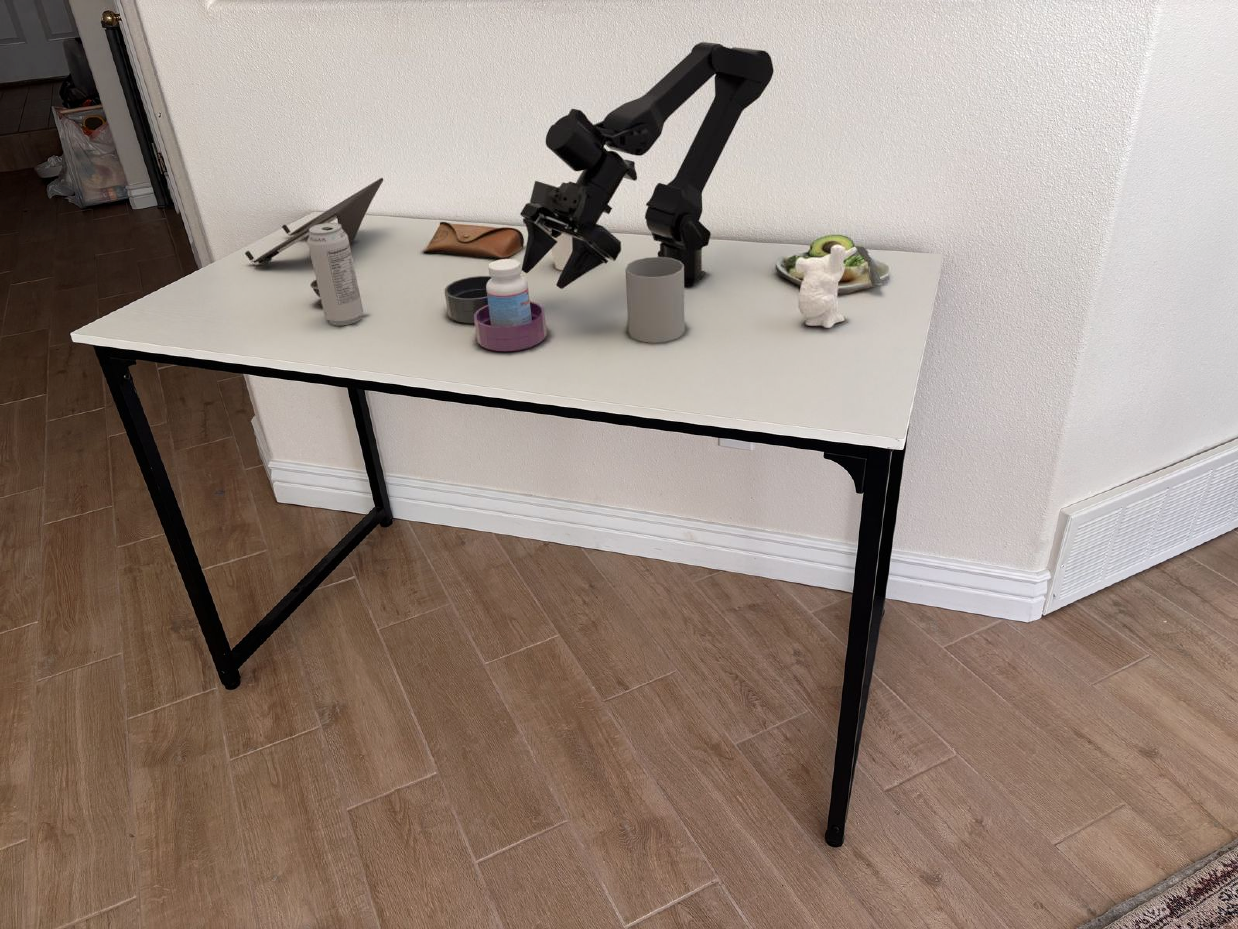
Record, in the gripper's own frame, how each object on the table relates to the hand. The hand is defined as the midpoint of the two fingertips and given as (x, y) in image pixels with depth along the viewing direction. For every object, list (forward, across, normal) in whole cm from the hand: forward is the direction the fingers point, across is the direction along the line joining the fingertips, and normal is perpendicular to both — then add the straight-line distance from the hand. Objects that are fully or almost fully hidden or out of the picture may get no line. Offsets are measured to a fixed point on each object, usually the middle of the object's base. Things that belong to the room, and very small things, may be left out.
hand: (541, 279), depth 138 cm
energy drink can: (+21, -26, -10) cm, 34 cm away
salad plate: (-27, +17, +39) cm, 50 cm away
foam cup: (-8, -19, +19) cm, 28 cm away
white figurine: (-16, +29, +27) cm, 42 cm away
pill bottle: (+10, 0, +1) cm, 10 cm away
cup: (-2, +13, +13) cm, 19 cm away
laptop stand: (+13, -62, -2) cm, 63 cm away
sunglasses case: (-2, -39, +13) cm, 42 cm away
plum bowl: (+10, 0, +1) cm, 10 cm away
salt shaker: (+20, -34, -9) cm, 40 cm away
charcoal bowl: (+8, -12, +2) cm, 15 cm away
